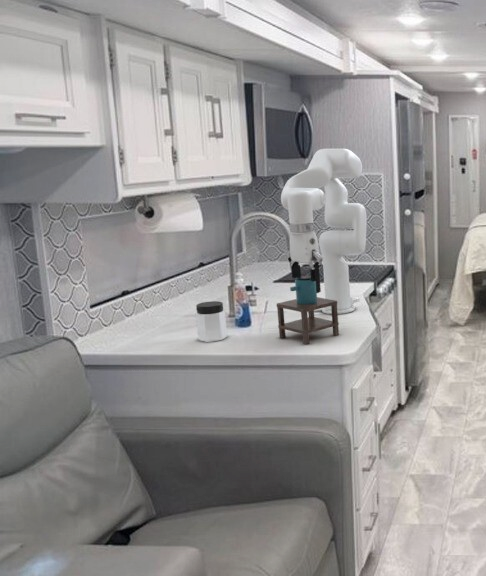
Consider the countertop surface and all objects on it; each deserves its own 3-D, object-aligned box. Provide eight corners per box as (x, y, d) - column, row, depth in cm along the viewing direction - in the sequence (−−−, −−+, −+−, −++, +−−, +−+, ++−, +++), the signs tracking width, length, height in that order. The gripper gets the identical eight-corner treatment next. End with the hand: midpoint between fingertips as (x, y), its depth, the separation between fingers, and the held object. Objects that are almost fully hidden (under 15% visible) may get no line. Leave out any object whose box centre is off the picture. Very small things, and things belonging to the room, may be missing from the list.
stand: (312, 328, 237) (310, 295, 234) (339, 334, 229) (337, 300, 226) (279, 337, 225) (276, 303, 223) (306, 344, 218) (303, 309, 215)
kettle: (313, 297, 231) (312, 273, 229) (326, 300, 227) (324, 275, 225) (286, 304, 222) (284, 278, 220) (299, 306, 218) (297, 281, 216)
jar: (207, 334, 229) (203, 300, 227) (230, 334, 229) (227, 300, 227) (194, 342, 221) (190, 307, 218) (219, 342, 221) (215, 307, 218)
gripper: (328, 229, 218) (332, 280, 222) (294, 224, 227) (298, 273, 231) (309, 231, 212) (313, 284, 216) (275, 227, 221) (280, 277, 225)
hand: (305, 278), depth 223 cm, fingers open, 9 cm apart
